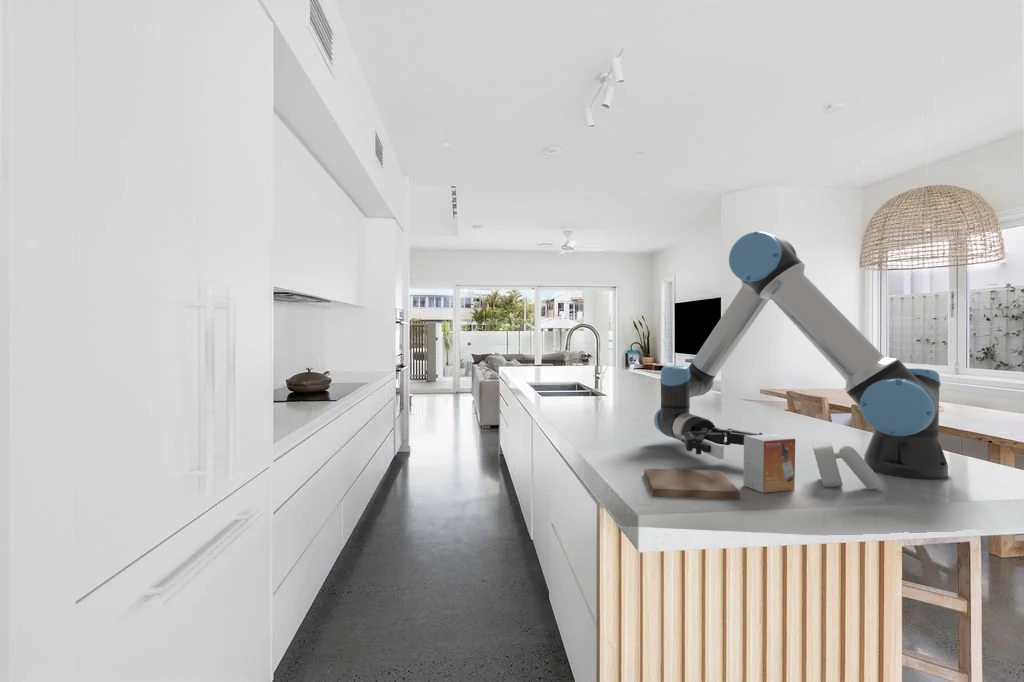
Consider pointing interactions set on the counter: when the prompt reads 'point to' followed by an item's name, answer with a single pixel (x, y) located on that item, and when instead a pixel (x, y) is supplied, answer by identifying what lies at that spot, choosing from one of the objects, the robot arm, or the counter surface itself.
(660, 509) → the counter surface
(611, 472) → the counter surface
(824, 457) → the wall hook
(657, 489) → the board
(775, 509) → the counter surface
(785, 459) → the small box
